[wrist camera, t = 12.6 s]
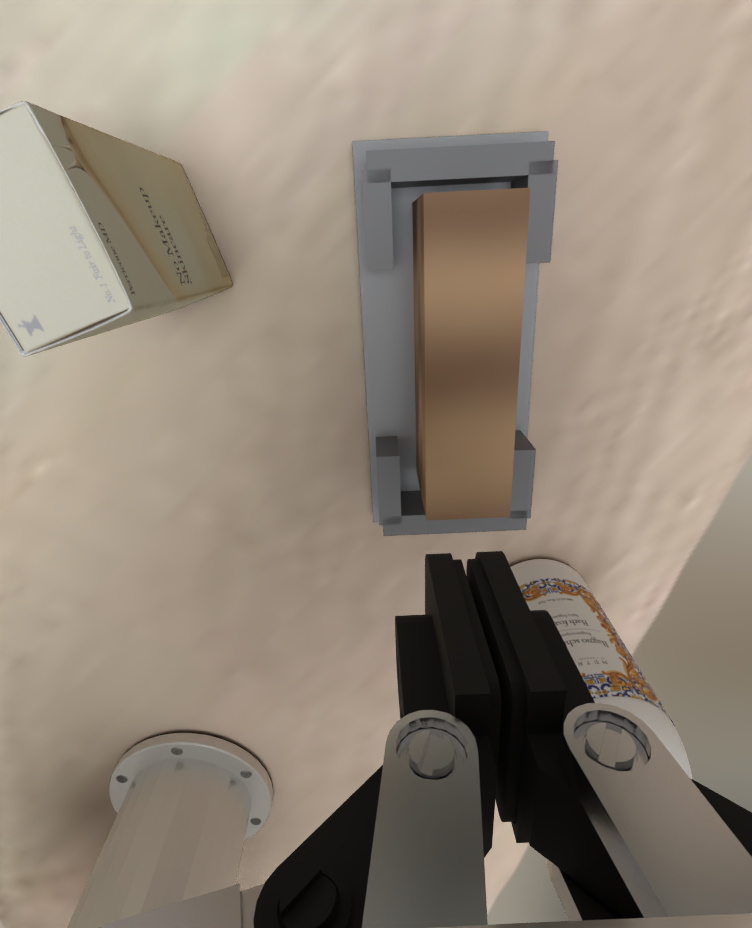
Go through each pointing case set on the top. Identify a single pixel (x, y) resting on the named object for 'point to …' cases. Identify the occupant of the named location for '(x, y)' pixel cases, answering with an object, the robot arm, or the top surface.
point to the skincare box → (93, 232)
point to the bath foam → (596, 646)
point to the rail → (392, 301)
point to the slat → (468, 347)
